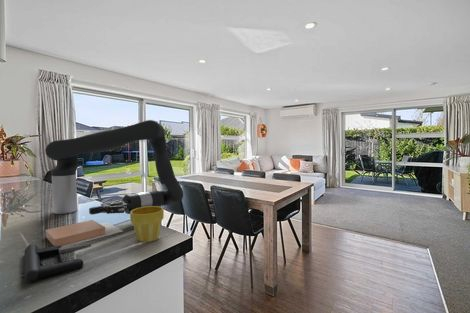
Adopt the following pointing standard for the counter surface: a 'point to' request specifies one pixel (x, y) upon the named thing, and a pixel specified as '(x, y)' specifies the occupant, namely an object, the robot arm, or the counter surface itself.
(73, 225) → the terracotta tile
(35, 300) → the counter surface
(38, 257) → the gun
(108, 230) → the grey mat
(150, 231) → the plant pot
